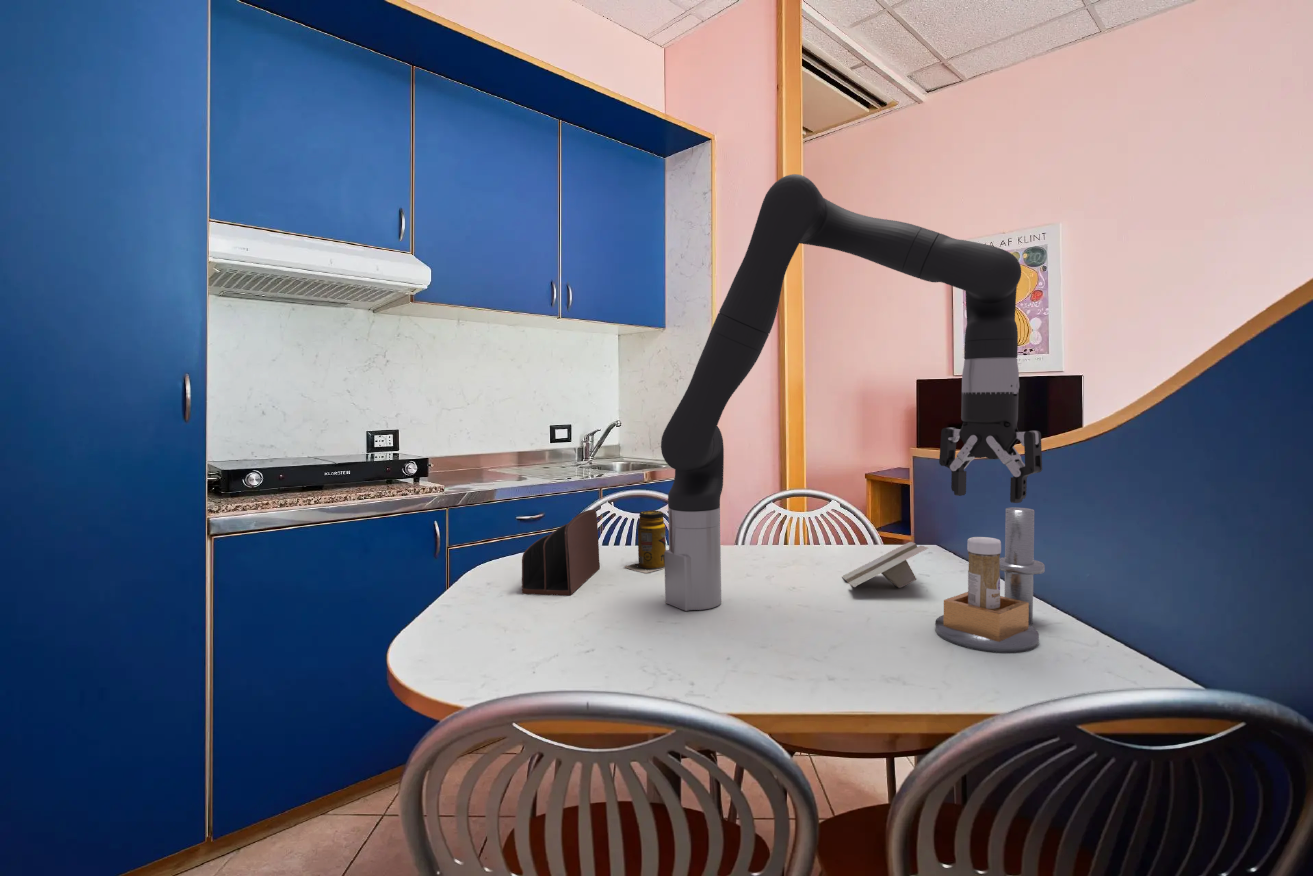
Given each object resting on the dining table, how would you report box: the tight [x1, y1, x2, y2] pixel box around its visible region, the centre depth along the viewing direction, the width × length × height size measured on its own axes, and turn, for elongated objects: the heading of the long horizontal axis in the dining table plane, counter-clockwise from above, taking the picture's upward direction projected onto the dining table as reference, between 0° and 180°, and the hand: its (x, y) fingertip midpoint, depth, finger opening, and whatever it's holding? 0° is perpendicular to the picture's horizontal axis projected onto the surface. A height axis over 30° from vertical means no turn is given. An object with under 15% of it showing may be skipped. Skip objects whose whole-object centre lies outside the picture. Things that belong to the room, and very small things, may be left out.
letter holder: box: [521, 509, 601, 597], centre depth 135 cm, size 10×20×14 cm, turn 169°
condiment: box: [623, 510, 667, 574], centre depth 145 cm, size 7×8×12 cm
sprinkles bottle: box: [966, 536, 1002, 611], centre depth 100 cm, size 5×5×14 cm
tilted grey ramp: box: [842, 541, 929, 589], centre depth 126 cm, size 16×9×15 cm
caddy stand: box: [934, 507, 1046, 654], centre depth 102 cm, size 20×14×18 cm
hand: (987, 498), depth 99 cm, fingers open, 8 cm apart
